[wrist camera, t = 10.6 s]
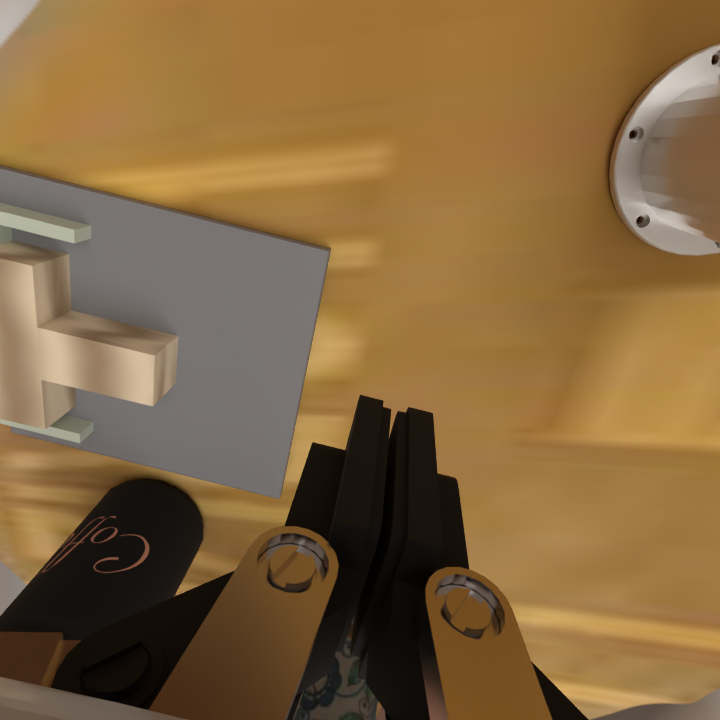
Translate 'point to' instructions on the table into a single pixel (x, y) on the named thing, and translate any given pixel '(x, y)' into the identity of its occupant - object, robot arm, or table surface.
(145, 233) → the mat
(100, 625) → the coffee jar
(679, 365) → the table surface
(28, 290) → the t block
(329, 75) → the table surface
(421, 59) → the table surface
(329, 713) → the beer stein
